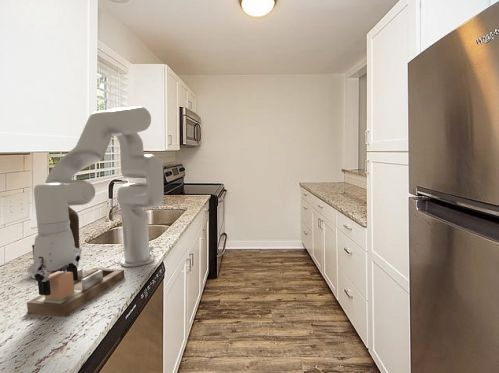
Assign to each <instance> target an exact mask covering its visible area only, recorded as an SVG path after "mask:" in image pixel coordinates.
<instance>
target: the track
mask: <svg viewBox="0 0 499 373" xmlns="http://www.w3.org/2000/svg"><path fill="white" fill-rule="evenodd" d="M77 272H78V280H76V281H74V280H73V282H74V293H72V294H70V295H69V296H67V297H65V298H63V299H62V300H53V299H45V295H38V296H37V297H34V298H33V299H30V300H29V301H27V302H26V306H27V307H26V308H27V313H28V314H37V315H44V316H45V315H46V316H48V315H49V316H56V317H57V316H59V317H67V316H69V315H70V314H72V313H73V312H75V311H76V310H78V309H79V308H81V307H83V306H84V305H85V304H87V303H88V302H91V301H92V300H94V299H95V298H96V297H98V296H100V295H101V294H103V293H104V292H105V291H107V290H109V289H110V288H112V287H113V286H115V285H116V284H118V283H120V282H121V281H122V280H125V269H119V268H118V269H117V268H115V269H114V268H101V267H98V268H97V267H93V268H91V269H88V270H86V272H83V268H77Z"/></svg>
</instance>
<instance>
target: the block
mask: <svg viewBox="0 0 499 373" xmlns="http://www.w3.org/2000/svg"><path fill="white" fill-rule="evenodd" d="M47 280H49V281H50V289H51V294H50V295H48V296H46V295H45V299H53V300H62V299H63V298H65V297H67V296H69V295H70V294H72V293H74V282H73V272H67V271H57V272H52V273H50V275H49V277H48V279H47Z"/></svg>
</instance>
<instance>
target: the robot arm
mask: <svg viewBox="0 0 499 373" xmlns="http://www.w3.org/2000/svg"><path fill="white" fill-rule="evenodd" d="M151 123H152V116H151V114H150V112H149V110H148V109H147V108H145V107H143V106H130V107H128V106H127V107H117V108H116V107H114V108H111V109H108V110H105V109H104V110H98V111H94V112H92V113H91V114H90V115H89V116H88V118H87V121H86V123H85V125H84V127H83V130H82V133H81V134H80V136H79V139H78V141H77V143H76V145H75V147H73V148H72V149H71V150H70V151H68V152H67V153H66V154H65V155H64V156H62V157H61V158H60V159H59V160H58V161H57V162H56V163H55V164H54V165H53V166H52V168H51V170H50V172H49V174H48V176H47V178H46V180H45V182H44V183H39V184H36V185H35V186H34V189H33V197H34V204H35V205H34V206H35V207H34V208H35V215H36V216H35V217H36V218H35V219H36V226H37V235H35V239H34V243H33V245H34V258H33V263H32V264H31V265H30V266H29V267H28V268H27V274H28V275H29V276H30V278H31V279H33V280H34V282H37V287H38V294H39V295H38V296H40V295H46V296H48V295H50V294H51V289H50V281H49V280H47V279H48V277H49V275H51V274H52V273H53V272H52V271H55V270H57V269H59V268H62V267H64V266H66V265H68V266H69V267H67V269H66V272H73V280H74V281H76V280H78V272H77V270H78V267H79V265H80V264H79V262H80V260H81V256H82V251H83V250H82V248H80V249H79V248H75V243H74V238H73V234H72V231H71V229H70V220H69V212H68V207H71V206H73V207H75V206H83V205H87V204H89V203H91V202H92V201H93V199H94V198H95V196H96V189H95V186H94V185H93V183H91V182H89V181H87V180H85V179H83V180H82V179H73V177H74V176H75V175H76V174H77V173H79V172H81V171H82V170H84V169H86V168H87V167H90V166H92V165H94V164H96V163H98V162H101V161H102V160H103V159H104V157H105V156H106V152H107V150H108V147H109V145H110V142H111V139H112V138H113V137H116V139H117V140H118V144H119V150H120V152H119V155H120V156H119V157H120V172H121V175H122V177H123V178H124V179H127V180H146V182H130V183H129V182H127V183H124V184H122V185H121V186H119V188H118V190H117V194H116V195H117V196H116V197H117V201H118V204H119V209H120V215H121V224H122V227H121V228H122V240H123V241H122V242H123V258H121V260H120V261H119V262H120V263H119V264H120V265H121V266H122V267H127V268H132V267H133V268H134V267H135V268H136V267H141V266H142V267H143V266H146V265H149V264H150V263H153V262H154V260H155V257H154V255H153V254H151V252H152V251H154V250H155V249H154V248H155V247H154V246H153V245H151V246H150V240H149V238H150V235H149V218H148V215H147V212H146V211H145V209H144V208H149V209H150V208H151V209H152V208H158V207H160V206H161V205H162V203H163V201H164V197H165V196H164V195H165V192H164V188H165V186H164V167H163V166H164V165H163V162H162V160H161V159H160V158H159V156H157V155H155V154H144V142H143V139H142V137H141V135H139V133H141V132H143V131H147V129H149V127H151V126H150V125H151ZM37 271H39V272H37Z"/></svg>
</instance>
